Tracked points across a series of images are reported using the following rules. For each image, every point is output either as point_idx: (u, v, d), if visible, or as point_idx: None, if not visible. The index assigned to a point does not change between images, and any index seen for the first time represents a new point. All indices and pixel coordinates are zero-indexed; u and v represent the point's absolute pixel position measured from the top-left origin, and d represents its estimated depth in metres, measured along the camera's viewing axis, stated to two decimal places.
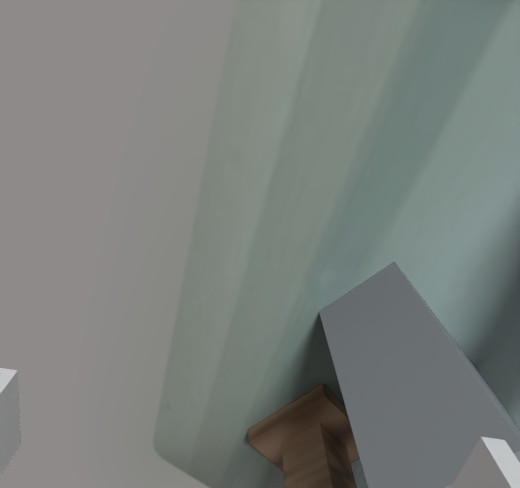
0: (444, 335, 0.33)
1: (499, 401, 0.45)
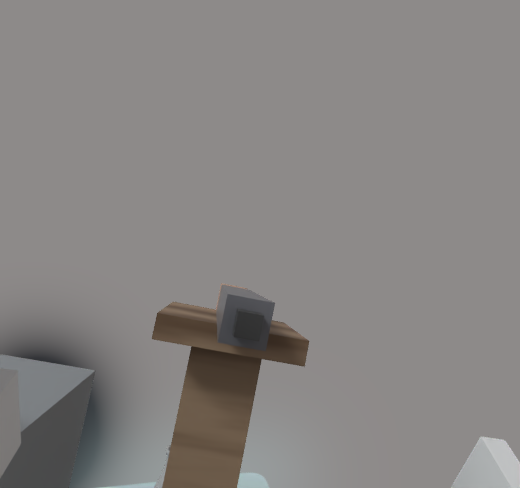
0: None
1: None
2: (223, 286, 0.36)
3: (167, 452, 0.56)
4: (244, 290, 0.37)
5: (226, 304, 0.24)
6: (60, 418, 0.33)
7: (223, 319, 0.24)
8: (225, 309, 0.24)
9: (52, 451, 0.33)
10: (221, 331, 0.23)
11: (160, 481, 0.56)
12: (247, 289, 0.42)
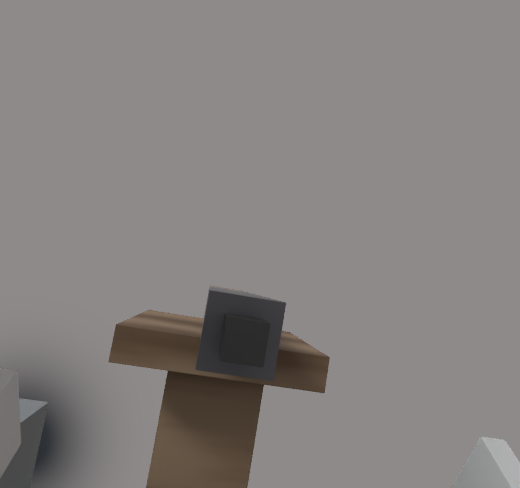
0: None
1: None
2: None
3: None
4: (238, 291, 0.28)
5: (208, 307, 0.15)
6: None
7: (203, 331, 0.15)
8: (206, 315, 0.15)
9: None
10: (201, 351, 0.14)
11: None
12: (242, 291, 0.33)
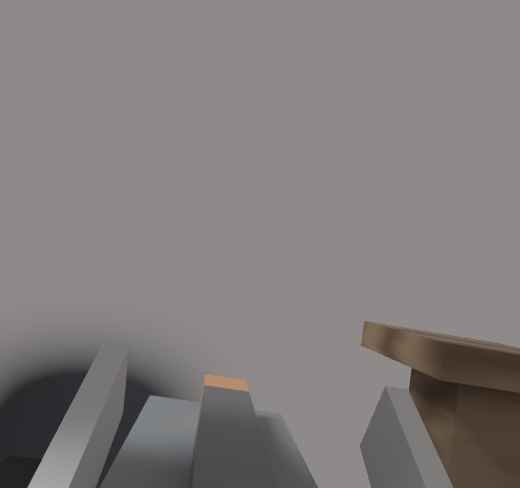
0: None
1: None
2: (200, 420, 0.19)
3: None
4: (241, 423, 0.19)
5: None
6: None
7: None
8: None
9: None
10: None
11: None
12: (247, 394, 0.25)
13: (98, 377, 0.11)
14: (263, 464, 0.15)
